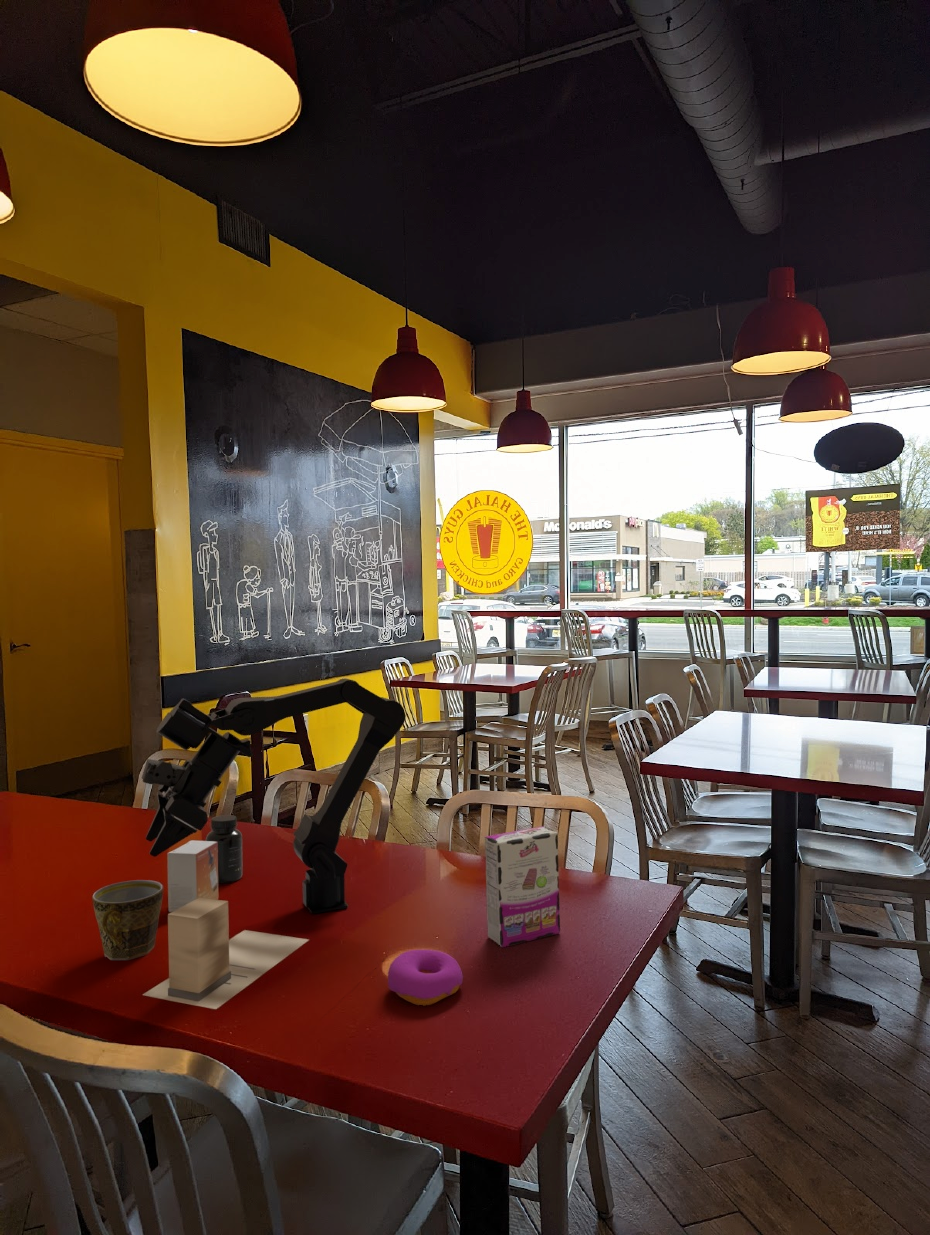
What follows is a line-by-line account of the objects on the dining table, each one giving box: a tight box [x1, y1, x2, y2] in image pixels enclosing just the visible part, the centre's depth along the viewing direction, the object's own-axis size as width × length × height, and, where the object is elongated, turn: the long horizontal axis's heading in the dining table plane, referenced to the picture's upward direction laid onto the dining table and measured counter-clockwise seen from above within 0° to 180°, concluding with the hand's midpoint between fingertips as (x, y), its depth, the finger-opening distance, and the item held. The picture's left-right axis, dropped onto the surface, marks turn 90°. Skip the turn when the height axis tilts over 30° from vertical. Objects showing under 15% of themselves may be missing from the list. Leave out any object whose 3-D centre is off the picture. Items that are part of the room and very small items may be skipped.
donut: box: [387, 949, 464, 1007], centre depth 112 cm, size 10×10×4 cm
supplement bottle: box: [205, 814, 243, 885], centre depth 159 cm, size 7×7×12 cm
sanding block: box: [167, 897, 231, 1002], centre depth 112 cm, size 7×5×11 cm
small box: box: [166, 840, 219, 913], centre depth 145 cm, size 8×6×10 cm
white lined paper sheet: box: [142, 929, 310, 1010], centre depth 118 cm, size 23×12×1 cm, turn 160°
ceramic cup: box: [92, 879, 164, 961], centre depth 123 cm, size 13×10×10 cm
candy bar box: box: [484, 826, 561, 948], centre depth 129 cm, size 11×5×16 cm, turn 117°
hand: (149, 847), depth 131 cm, fingers open, 9 cm apart
